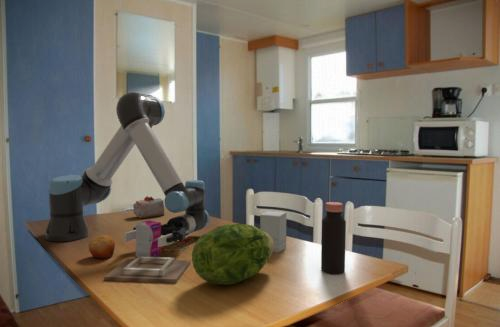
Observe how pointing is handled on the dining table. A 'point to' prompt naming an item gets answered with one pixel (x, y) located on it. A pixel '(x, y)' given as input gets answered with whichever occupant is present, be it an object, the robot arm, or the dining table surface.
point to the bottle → (333, 239)
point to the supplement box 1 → (148, 239)
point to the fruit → (102, 246)
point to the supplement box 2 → (275, 228)
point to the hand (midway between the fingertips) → (141, 240)
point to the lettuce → (231, 253)
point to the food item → (149, 207)
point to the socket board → (149, 270)
